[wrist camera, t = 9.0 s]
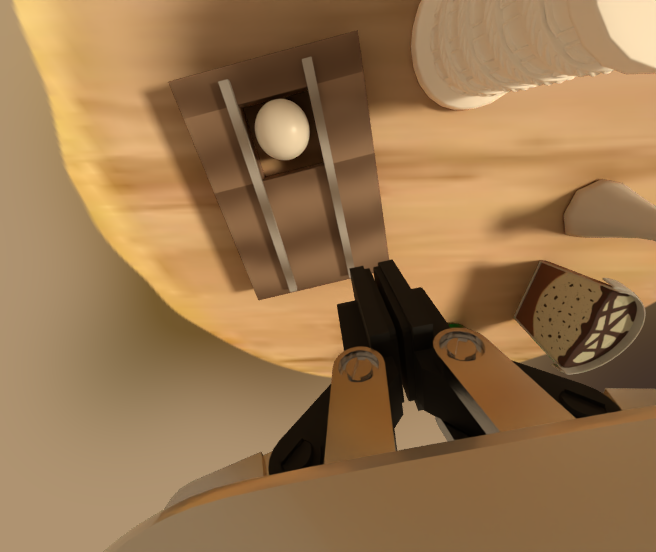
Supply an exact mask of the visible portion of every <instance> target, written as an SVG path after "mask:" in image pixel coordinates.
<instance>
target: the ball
mask: <svg viewBox="0 0 656 552" xmlns="http://www.w3.org/2000/svg"><path fill="white" fill-rule="evenodd" d="M255 134H256V138H257V141H258V143H259V145H260V146H261V148H262V149H263V150H264V151H265V152H266V153H267V154H268V155H269V156H271V157H273V158H275V159H278V160H291V159H294V158H296V157H297V156H299V155H300V154H301V153H302V152H303V151H304V150H305V148H306V146H307V144H308V141H309V137H310V127H309V122H308V119H307V117H306V115H305V113H304V112H303V110H302V109H301V108H300V107H299V106H298V105H297V104H295V103H294V102H292V101H290V100H286V99H274V100H271V101H269V102H267V103H266V104H265V105H264V106H263V107H262V108H261V109H260V110H259V112H258V114H257V117H256V120H255Z"/></svg>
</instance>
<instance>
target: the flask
mask: <svg viewBox="0 0 656 552" xmlns="http://www.w3.org/2000/svg"><path fill="white" fill-rule="evenodd" d="M564 225H565V234H566V235H572V236H579V237H587V238H610V237H613V238H641V239H648V240H653V241H656V206H655V205H653V204H652V203H650V202H649V201H647V200H646V199H644V198H643V197H641V196H640V195H638V194H637V193H636V192H634V191H633V190H632V189H630V188H629V187H628V186H626V185H625V184H623V183H620V182H615V181H610V180H605V179H601V180H599V181H596V182H594V183H592V184H590V185H588V186H586V187H584V188H582V189H579V190H577V191H576V193H575V195H574V197H573V198H572V200H571V202H570V204H569V206H568V207H567V209H566V211H565V213H564Z"/></svg>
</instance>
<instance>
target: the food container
mask: <svg viewBox="0 0 656 552" xmlns="http://www.w3.org/2000/svg"><path fill="white" fill-rule="evenodd" d="M603 280H604V281H606V282H607V283H608V284H609V285H608V284H606V283H603V282H601V281H598V280H595V279H593V278H590V277H588V276H585V275H582V274H580V273H577V272H575V271H572V270H569V269H567V268H564V267H562V266H559V265H556V264H554V263H551V262H548V261H544V260H540V262H539V264H538V266H537V268H536V270H535V272H534V274H533V277H532V279H531V281H530V283H529V285H528V287H527V289H526V291H525V294H524V296H523V298H522V300H521V302H520V304H519V306H518V309H517V311H516V313H515V315H514V317H513V318H514V319H515V320H516V321H517V322H518V323H519V324H520V326H521V327H522V328H523V329H524V330H525V331H526V332H527V333H528V334H529V335H530V336H531V337H532V338H533V340H534V341H535V342H536V343H537V344H538V345H539V346H540V347H541V348H542V349H543V350H544V351H545V353H546V354H547V355H548V356H549V357H550V358H551V359H552V360H553V361H554V362H555V363H556V364H551V365H552V366H553V367H555V368H556V369H558V370H559V371H561V372H564V373H566V374H577V373H582V372H585V371H589V370H592V369H594V368H597V367H599V366H601V365H603V364H605V363H607V362H609V361H610V360H612V359H613V358H615V357H616V356H618V355H619V354H620V353H621V352H623V351H624V350H625V349H626V348H627V347H628V346H629V345H630V344H631V343H632V342H633V341H634V340H635V338H636V337H637V335H638V334H639V332H640V331H641V328H642V326H643V324H644V320H645V307H644V305H643V303H642V302H641V300H640V299H639V298H638V297H637V295H636V294H635V293H634V292H632V291H631V290H630V289H628V288H627V287H626V286H624V285H623V284H621V283H620V282H618V281H616V280H613V279H609V278H603Z"/></svg>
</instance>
